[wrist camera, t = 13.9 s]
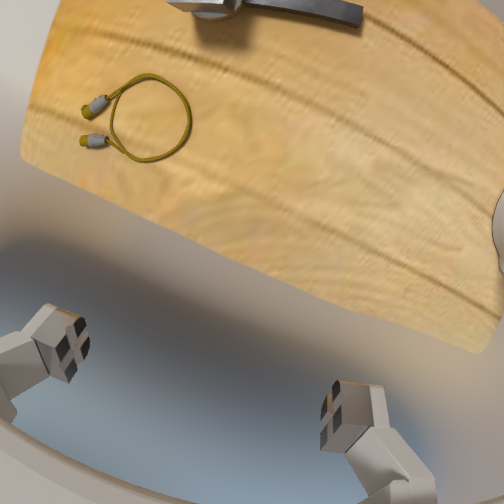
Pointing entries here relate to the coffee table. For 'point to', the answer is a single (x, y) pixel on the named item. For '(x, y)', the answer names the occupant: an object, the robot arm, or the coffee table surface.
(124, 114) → the coffee table surface
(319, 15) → the ratchet
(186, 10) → the socket
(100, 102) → the extension cord
